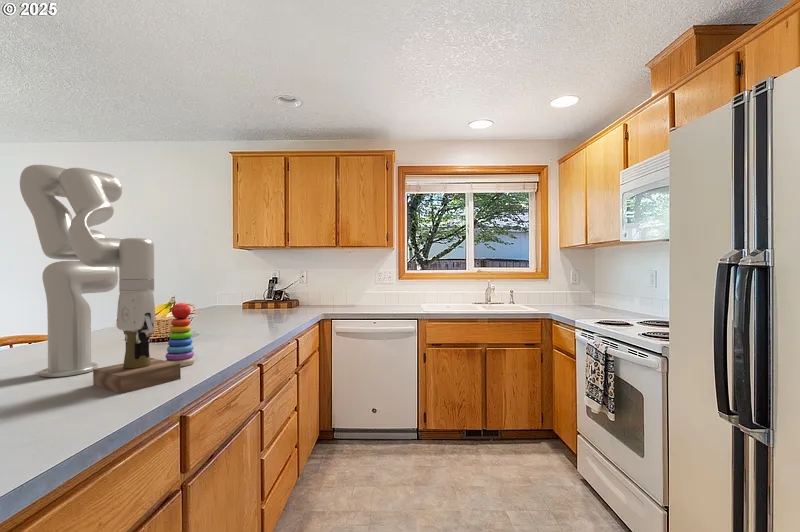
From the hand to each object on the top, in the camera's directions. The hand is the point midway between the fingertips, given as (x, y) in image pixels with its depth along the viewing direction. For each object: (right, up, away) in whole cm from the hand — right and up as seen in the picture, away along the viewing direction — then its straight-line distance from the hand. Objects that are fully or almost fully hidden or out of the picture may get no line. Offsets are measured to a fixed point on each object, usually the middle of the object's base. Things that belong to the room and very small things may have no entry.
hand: (137, 356), depth 102 cm
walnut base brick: (0, -7, 0) cm, 7 cm away
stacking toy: (+1, -7, +18) cm, 19 cm away
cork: (0, -3, 0) cm, 3 cm away
